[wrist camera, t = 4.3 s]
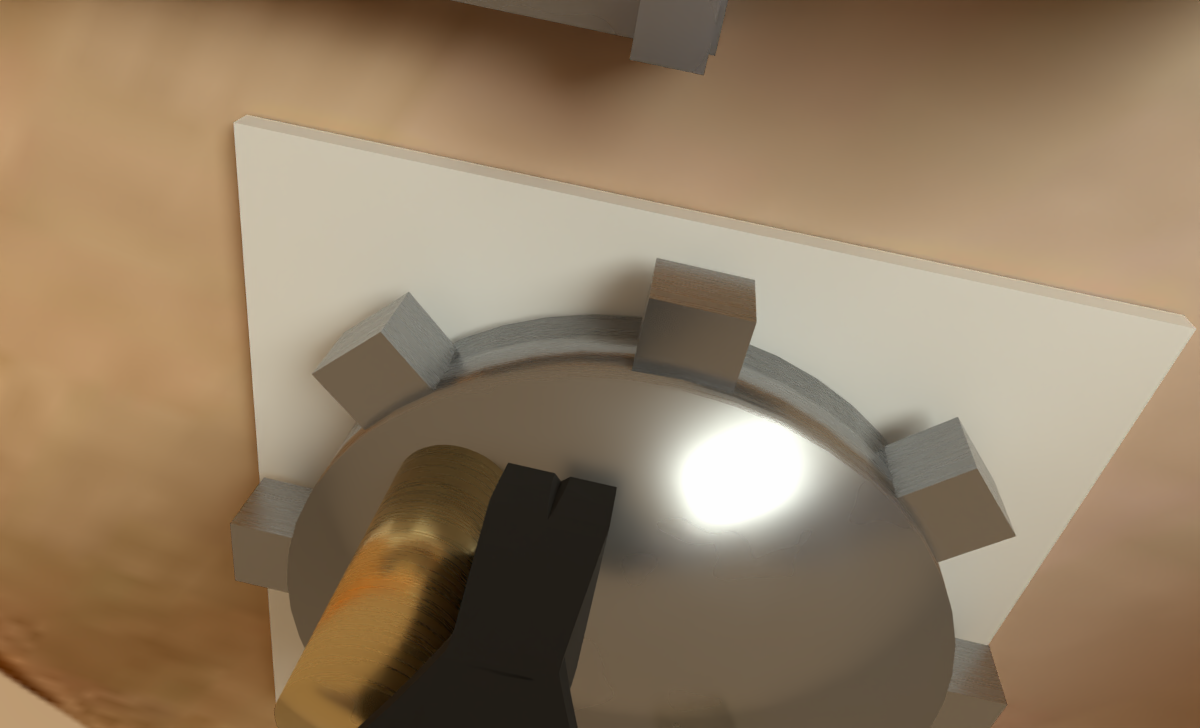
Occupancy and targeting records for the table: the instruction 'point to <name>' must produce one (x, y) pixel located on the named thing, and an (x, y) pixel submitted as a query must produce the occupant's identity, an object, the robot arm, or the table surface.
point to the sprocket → (636, 521)
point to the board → (620, 287)
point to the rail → (637, 25)
